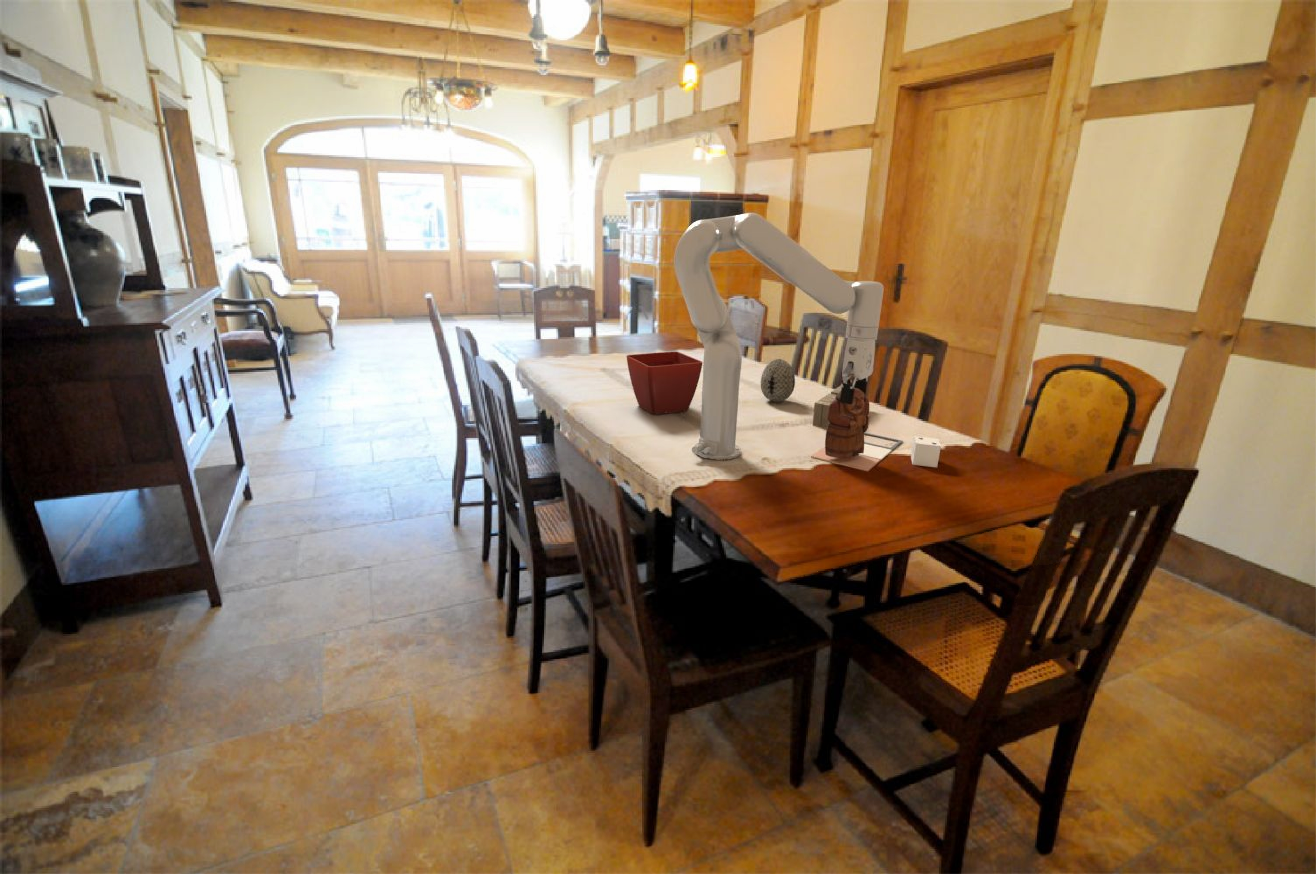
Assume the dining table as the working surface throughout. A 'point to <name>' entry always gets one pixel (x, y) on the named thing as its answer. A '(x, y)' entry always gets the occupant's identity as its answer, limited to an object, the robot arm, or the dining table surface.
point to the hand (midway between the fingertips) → (852, 399)
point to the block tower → (824, 408)
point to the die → (925, 451)
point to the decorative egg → (777, 380)
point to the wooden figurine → (847, 426)
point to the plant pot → (664, 380)
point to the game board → (861, 455)
